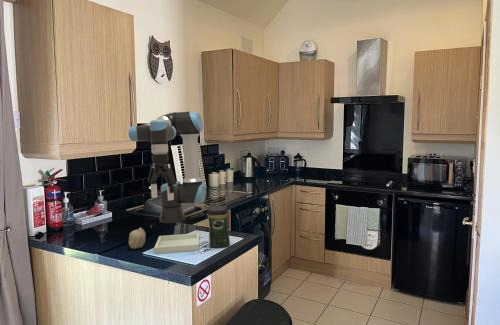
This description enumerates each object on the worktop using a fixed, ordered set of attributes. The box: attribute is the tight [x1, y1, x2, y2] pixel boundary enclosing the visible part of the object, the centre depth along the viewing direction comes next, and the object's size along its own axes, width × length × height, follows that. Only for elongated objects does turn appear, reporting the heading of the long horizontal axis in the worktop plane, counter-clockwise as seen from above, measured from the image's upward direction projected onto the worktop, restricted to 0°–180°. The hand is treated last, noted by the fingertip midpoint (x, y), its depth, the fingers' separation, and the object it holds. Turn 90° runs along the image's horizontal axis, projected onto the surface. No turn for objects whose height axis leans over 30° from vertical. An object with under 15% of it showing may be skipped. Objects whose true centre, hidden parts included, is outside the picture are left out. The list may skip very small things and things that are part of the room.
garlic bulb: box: [128, 227, 147, 250], centre depth 179 cm, size 9×8×10 cm
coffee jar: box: [206, 205, 231, 248], centre depth 177 cm, size 10×8×19 cm
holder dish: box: [153, 232, 200, 255], centre depth 179 cm, size 19×19×3 cm
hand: (162, 198), depth 180 cm, fingers open, 13 cm apart
